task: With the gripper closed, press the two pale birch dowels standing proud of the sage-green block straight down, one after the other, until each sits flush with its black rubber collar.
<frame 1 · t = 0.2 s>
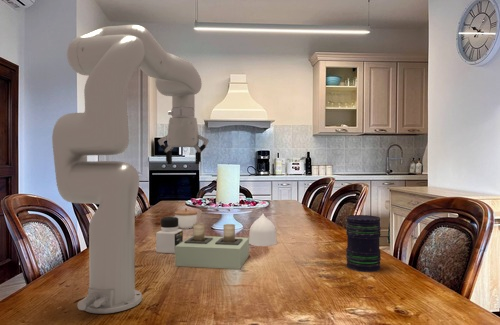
hand: (183, 164, 125), 31 cm above the table, tool pointing down, fingers open, 9 cm apart
storage jar: (363, 267, 109), on the table
teardrop: (262, 243, 142), on the table
peg left: (198, 234, 118), point 8 cm above the table, slide at 0.0 cm
sage block: (214, 260, 117), on the table
lidded jar: (186, 228, 176), on the table
peg right: (229, 235, 116), point 8 cm above the table, slide at 0.0 cm
medicine bottle: (169, 251, 130), on the table
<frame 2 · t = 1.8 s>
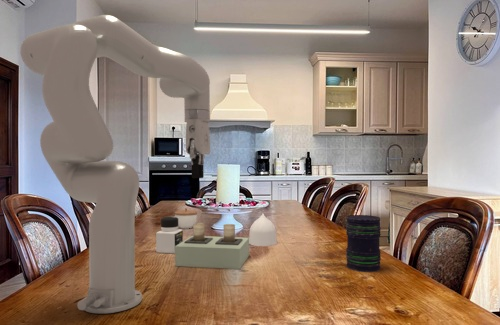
hand: (197, 177, 110), 27 cm above the table, tool pointing down, fingers closed
nothing on the table moved.
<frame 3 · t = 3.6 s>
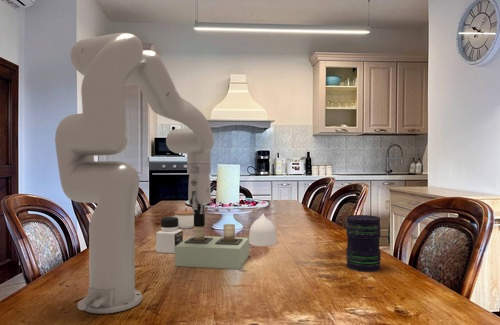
hand: (199, 226, 118), 11 cm above the table, tool pointing down, fingers closed
peg left: (198, 236, 118), point 8 cm above the table, slide at 0.7 cm, touching gripper
everything else where it was.
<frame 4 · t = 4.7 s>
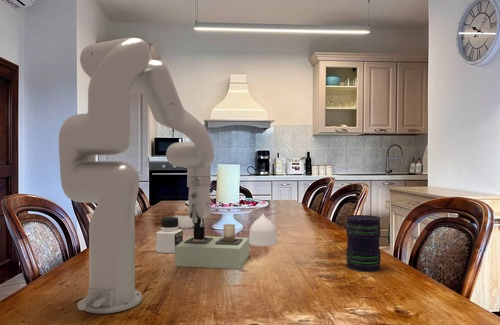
hand: (199, 238, 118), 7 cm above the table, tool pointing down, fingers closed
peg left: (199, 249, 118), point 3 cm above the table, slide at 4.8 cm, touching gripper
everything else where it was.
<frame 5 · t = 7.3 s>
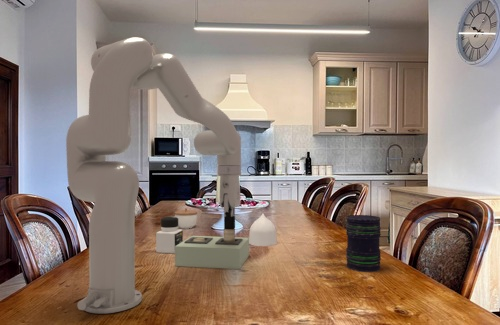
hand: (229, 228, 116), 10 cm above the table, tool pointing down, fingers closed
peg left: (199, 249, 118), point 3 cm above the table, slide at 4.8 cm
peg right: (229, 239, 116), point 7 cm above the table, slide at 1.3 cm, touching gripper
everything else where it was.
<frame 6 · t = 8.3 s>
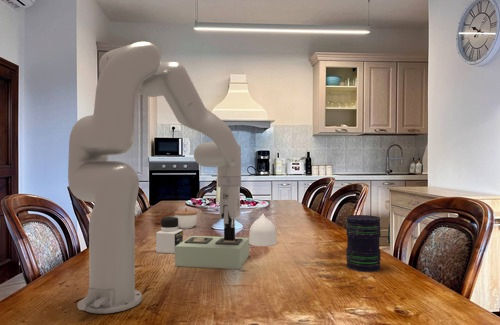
hand: (229, 239, 116), 7 cm above the table, tool pointing down, fingers closed
peg right: (229, 250, 116), point 3 cm above the table, slide at 4.8 cm, touching gripper
everything else where it was.
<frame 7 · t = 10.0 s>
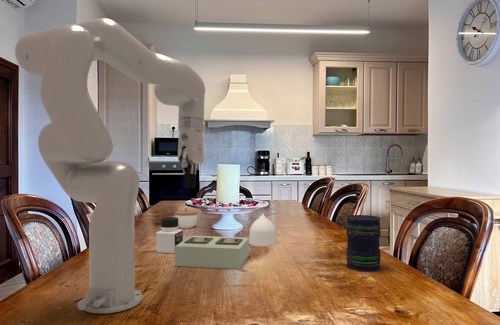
hand: (189, 187, 108), 24 cm above the table, tool pointing down, fingers closed
peg right: (229, 250, 116), point 3 cm above the table, slide at 4.8 cm
everything else where it was.
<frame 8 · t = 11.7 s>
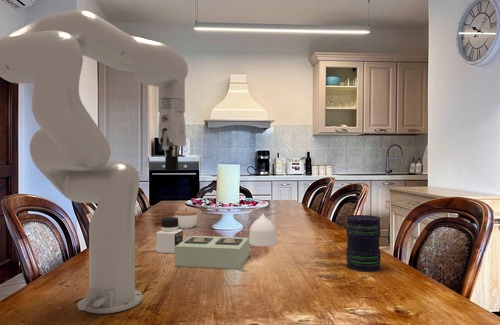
hand: (171, 170, 105), 29 cm above the table, tool pointing down, fingers closed
nothing on the table moved.
at the end: peg left slide at 4.8 cm; peg right slide at 4.8 cm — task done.
